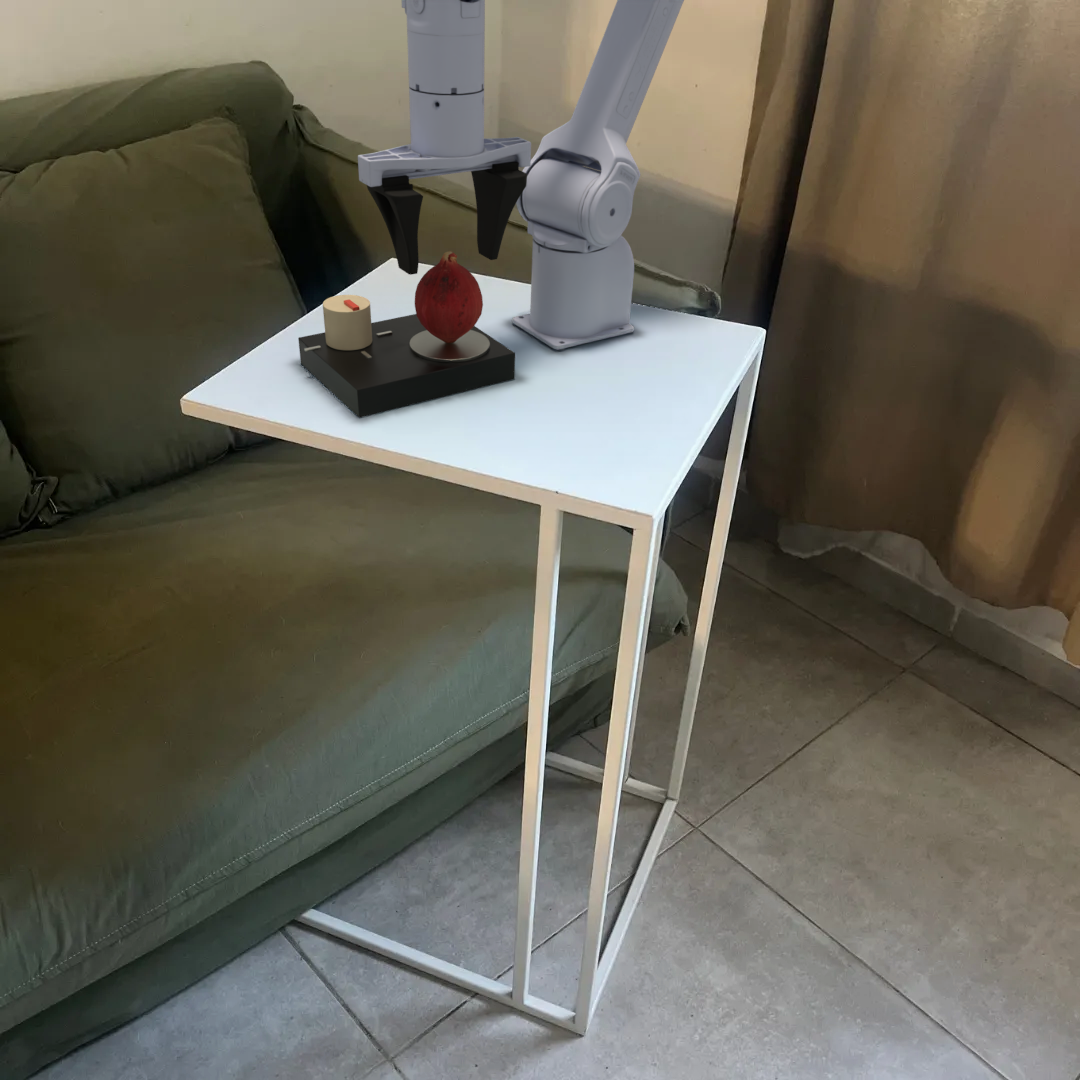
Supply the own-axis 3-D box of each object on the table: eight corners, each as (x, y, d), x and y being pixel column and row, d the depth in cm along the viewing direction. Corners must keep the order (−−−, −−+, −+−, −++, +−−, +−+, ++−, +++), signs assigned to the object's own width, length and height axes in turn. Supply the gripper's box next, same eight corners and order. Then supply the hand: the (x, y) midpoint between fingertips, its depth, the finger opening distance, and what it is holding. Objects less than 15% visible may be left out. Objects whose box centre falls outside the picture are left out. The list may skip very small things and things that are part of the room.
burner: (464, 325, 93) (464, 321, 92) (505, 352, 88) (505, 349, 88) (395, 339, 89) (395, 336, 89) (434, 369, 85) (434, 365, 84)
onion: (472, 360, 86) (472, 267, 81) (407, 352, 86) (403, 260, 82) (489, 334, 90) (490, 245, 86) (426, 326, 91) (424, 238, 87)
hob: (441, 328, 98) (441, 301, 97) (514, 379, 89) (515, 351, 88) (289, 360, 91) (286, 332, 89) (352, 419, 82) (350, 389, 80)
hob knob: (318, 337, 89) (314, 296, 87) (359, 329, 91) (357, 288, 89) (338, 354, 86) (334, 311, 84) (380, 344, 88) (378, 303, 86)
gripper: (500, 72, 83) (497, 237, 91) (336, 85, 76) (348, 262, 84) (548, 88, 78) (541, 260, 86) (378, 103, 71) (387, 289, 79)
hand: (448, 263), depth 84 cm, fingers open, 7 cm apart
